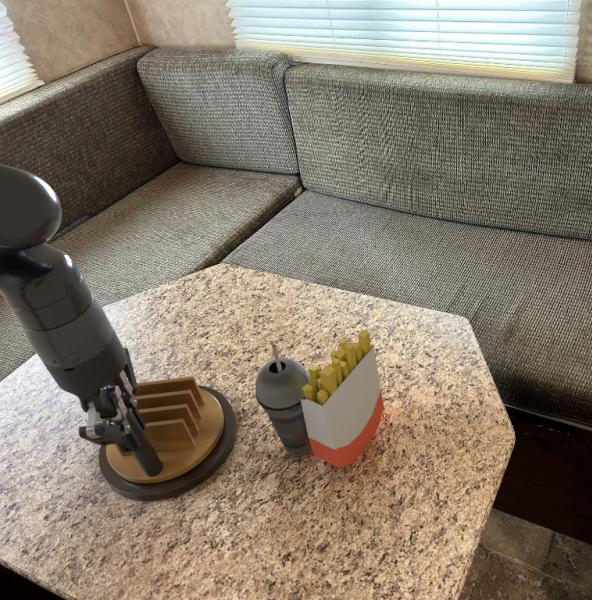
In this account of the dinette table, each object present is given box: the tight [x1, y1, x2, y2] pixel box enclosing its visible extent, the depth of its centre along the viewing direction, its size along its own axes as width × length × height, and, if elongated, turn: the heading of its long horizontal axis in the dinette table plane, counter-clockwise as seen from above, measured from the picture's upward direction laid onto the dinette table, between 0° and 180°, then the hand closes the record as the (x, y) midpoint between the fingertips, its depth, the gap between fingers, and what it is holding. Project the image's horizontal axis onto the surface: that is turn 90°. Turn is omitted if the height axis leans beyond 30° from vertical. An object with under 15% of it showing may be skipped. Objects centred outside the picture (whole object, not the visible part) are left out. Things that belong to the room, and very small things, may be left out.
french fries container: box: [301, 329, 385, 468], centre depth 78 cm, size 5×11×18 cm, turn 148°
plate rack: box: [106, 376, 224, 484], centre depth 82 cm, size 16×16×12 cm
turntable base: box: [98, 384, 239, 502], centre depth 86 cm, size 19×19×2 cm
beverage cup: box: [254, 344, 313, 457], centre depth 78 cm, size 7×7×20 cm
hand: (135, 439), depth 76 cm, fingers closed on plate rack, 2 cm apart
